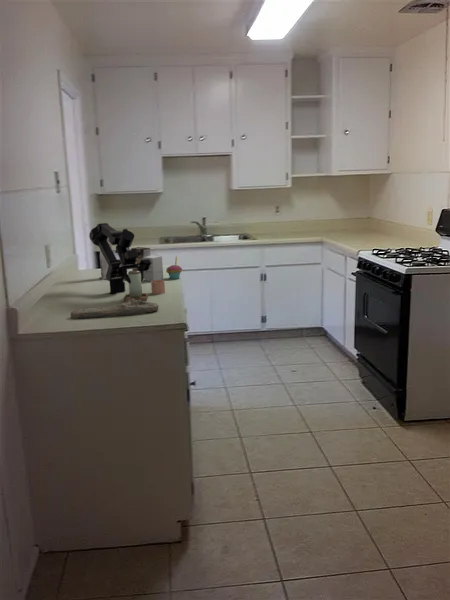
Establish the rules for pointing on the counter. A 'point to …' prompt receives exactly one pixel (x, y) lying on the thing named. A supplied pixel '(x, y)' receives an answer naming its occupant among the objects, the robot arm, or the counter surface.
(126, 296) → the walnut tray
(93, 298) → the counter surface
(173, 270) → the cupcake
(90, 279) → the counter surface
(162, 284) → the terracotta cup
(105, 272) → the skyscraper
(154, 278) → the supplement box
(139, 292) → the spice jar
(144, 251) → the coffee box
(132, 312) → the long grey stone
